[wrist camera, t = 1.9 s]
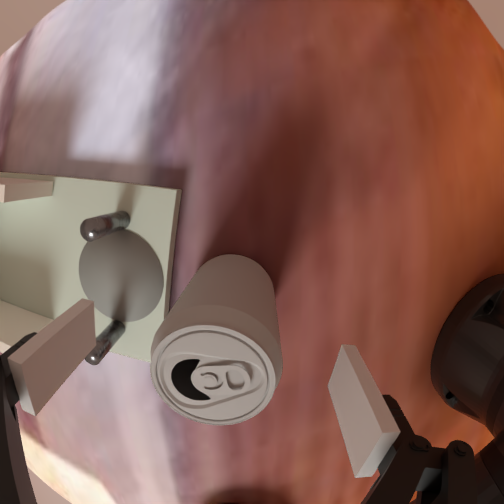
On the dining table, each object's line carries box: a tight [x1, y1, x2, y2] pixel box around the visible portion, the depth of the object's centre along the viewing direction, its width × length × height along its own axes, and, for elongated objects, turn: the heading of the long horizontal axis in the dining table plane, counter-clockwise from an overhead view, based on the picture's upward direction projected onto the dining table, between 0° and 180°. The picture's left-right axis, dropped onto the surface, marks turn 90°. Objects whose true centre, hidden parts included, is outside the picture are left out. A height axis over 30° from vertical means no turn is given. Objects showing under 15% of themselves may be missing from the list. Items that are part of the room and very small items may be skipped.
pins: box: [80, 210, 130, 365], centre depth 20 cm, size 1×10×5 cm, turn 171°
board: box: [0, 172, 182, 363], centre depth 24 cm, size 22×14×2 cm, turn 81°
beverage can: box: [150, 254, 283, 425], centre depth 19 cm, size 6×6×12 cm
